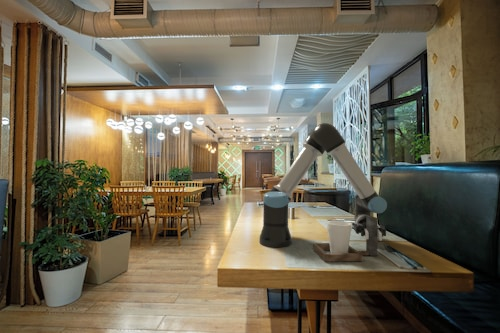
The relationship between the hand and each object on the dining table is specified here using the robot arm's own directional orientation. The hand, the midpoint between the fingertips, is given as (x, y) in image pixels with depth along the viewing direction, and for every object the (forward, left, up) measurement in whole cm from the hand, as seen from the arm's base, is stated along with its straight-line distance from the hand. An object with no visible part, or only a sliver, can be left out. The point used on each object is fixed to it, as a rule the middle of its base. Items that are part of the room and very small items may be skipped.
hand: (374, 236), depth 94 cm
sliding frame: (-8, +5, -9) cm, 13 cm away
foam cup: (-12, +5, -9) cm, 16 cm away
